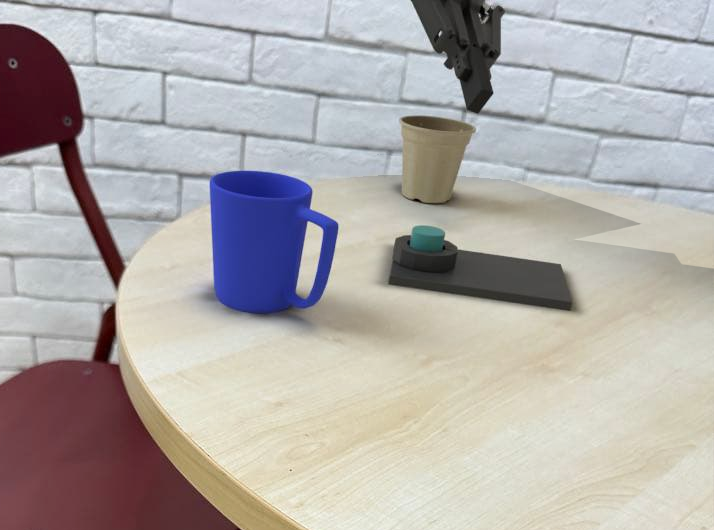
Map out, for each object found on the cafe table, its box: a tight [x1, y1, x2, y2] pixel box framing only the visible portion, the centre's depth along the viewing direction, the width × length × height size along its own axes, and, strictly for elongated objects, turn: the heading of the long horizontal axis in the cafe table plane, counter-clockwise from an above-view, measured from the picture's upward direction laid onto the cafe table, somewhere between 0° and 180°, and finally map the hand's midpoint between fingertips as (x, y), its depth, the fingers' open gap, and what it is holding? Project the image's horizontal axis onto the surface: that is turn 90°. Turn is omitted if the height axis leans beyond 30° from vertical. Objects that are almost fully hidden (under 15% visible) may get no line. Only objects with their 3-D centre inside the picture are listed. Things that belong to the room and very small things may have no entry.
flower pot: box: [398, 114, 477, 204], centre depth 105 cm, size 9×9×9 cm
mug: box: [209, 170, 339, 314], centre depth 69 cm, size 8×12×10 cm
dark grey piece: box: [387, 234, 573, 311], centre depth 82 cm, size 17×11×3 cm, turn 82°
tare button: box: [409, 224, 446, 252], centre depth 82 cm, size 3×3×2 cm
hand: (480, 101), depth 89 cm, fingers closed
